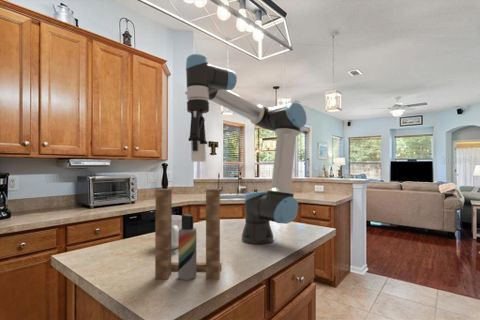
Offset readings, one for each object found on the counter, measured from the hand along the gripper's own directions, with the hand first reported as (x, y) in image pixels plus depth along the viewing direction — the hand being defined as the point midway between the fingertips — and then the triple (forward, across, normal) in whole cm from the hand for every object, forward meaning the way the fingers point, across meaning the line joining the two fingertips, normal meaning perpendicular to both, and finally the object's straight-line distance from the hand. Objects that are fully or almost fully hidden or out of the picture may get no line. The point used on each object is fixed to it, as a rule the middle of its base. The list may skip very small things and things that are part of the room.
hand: (199, 161), depth 93 cm
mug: (+37, -23, -16) cm, 47 cm away
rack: (+37, +5, -3) cm, 37 cm away
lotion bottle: (+37, +7, -3) cm, 38 cm away
